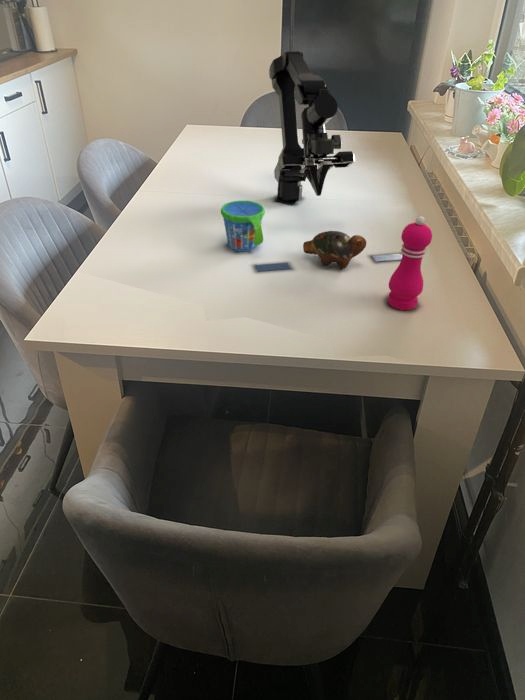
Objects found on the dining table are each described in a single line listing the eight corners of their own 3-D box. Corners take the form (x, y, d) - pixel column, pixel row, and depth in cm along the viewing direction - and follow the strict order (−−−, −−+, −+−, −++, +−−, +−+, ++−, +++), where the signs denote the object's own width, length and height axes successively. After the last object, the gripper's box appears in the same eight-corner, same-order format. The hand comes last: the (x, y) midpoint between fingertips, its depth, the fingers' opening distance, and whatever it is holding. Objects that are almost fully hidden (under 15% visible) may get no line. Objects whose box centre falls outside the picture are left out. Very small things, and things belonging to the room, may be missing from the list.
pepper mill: (381, 294, 122) (398, 209, 110) (412, 294, 122) (432, 209, 110) (390, 312, 116) (408, 224, 104) (423, 311, 117) (445, 224, 105)
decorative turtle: (364, 274, 129) (366, 244, 124) (300, 271, 131) (300, 241, 126) (365, 254, 136) (367, 225, 131) (305, 251, 138) (305, 222, 133)
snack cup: (211, 237, 142) (211, 199, 136) (248, 230, 146) (249, 194, 140) (235, 263, 131) (236, 223, 125) (274, 255, 135) (276, 216, 129)
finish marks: (255, 265, 131) (255, 265, 130) (400, 254, 138) (400, 253, 138) (258, 271, 128) (258, 271, 128) (405, 259, 136) (405, 259, 136)
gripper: (286, 122, 126) (291, 191, 128) (361, 120, 130) (365, 187, 131) (275, 137, 137) (280, 199, 139) (344, 134, 141) (349, 196, 142)
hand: (318, 195), depth 137 cm, fingers closed
